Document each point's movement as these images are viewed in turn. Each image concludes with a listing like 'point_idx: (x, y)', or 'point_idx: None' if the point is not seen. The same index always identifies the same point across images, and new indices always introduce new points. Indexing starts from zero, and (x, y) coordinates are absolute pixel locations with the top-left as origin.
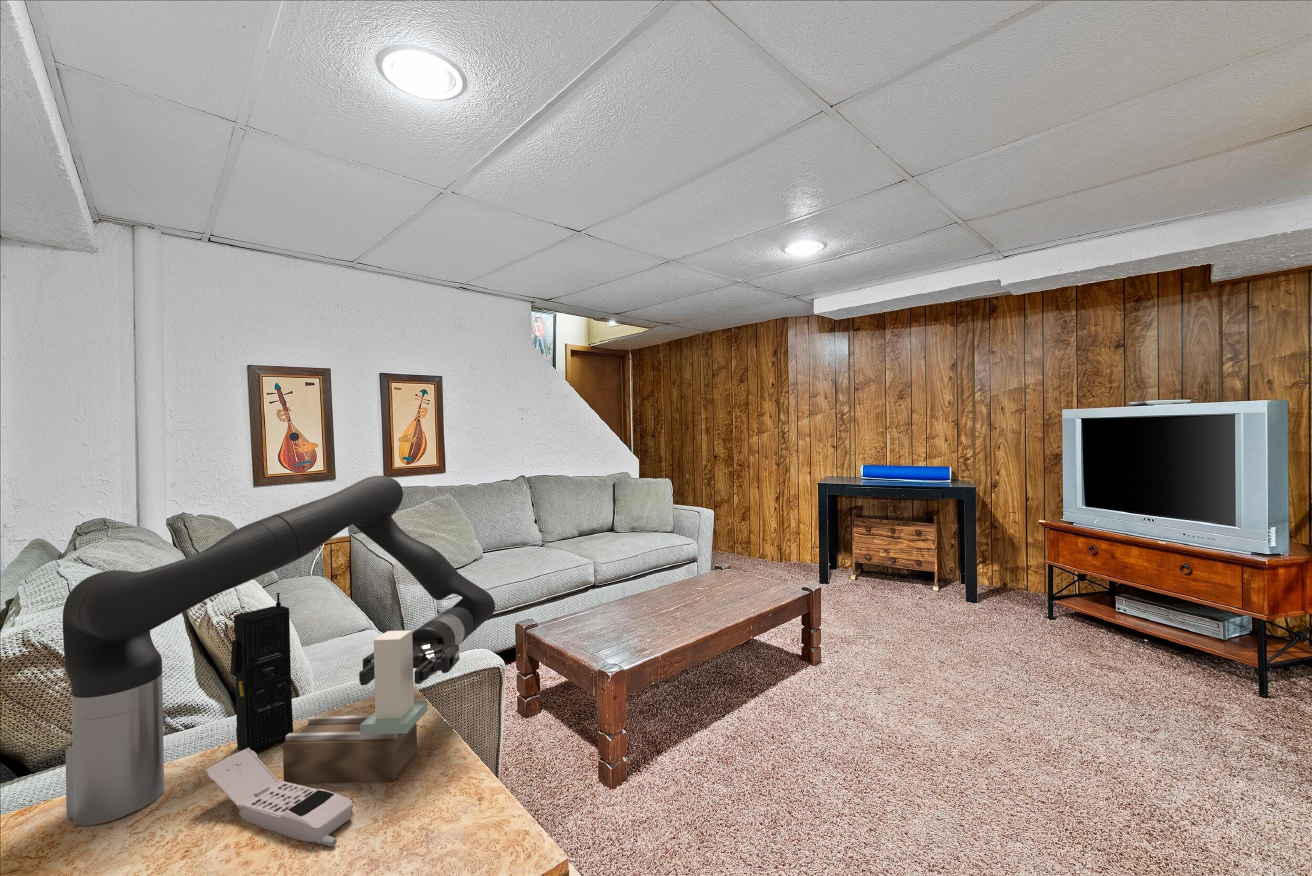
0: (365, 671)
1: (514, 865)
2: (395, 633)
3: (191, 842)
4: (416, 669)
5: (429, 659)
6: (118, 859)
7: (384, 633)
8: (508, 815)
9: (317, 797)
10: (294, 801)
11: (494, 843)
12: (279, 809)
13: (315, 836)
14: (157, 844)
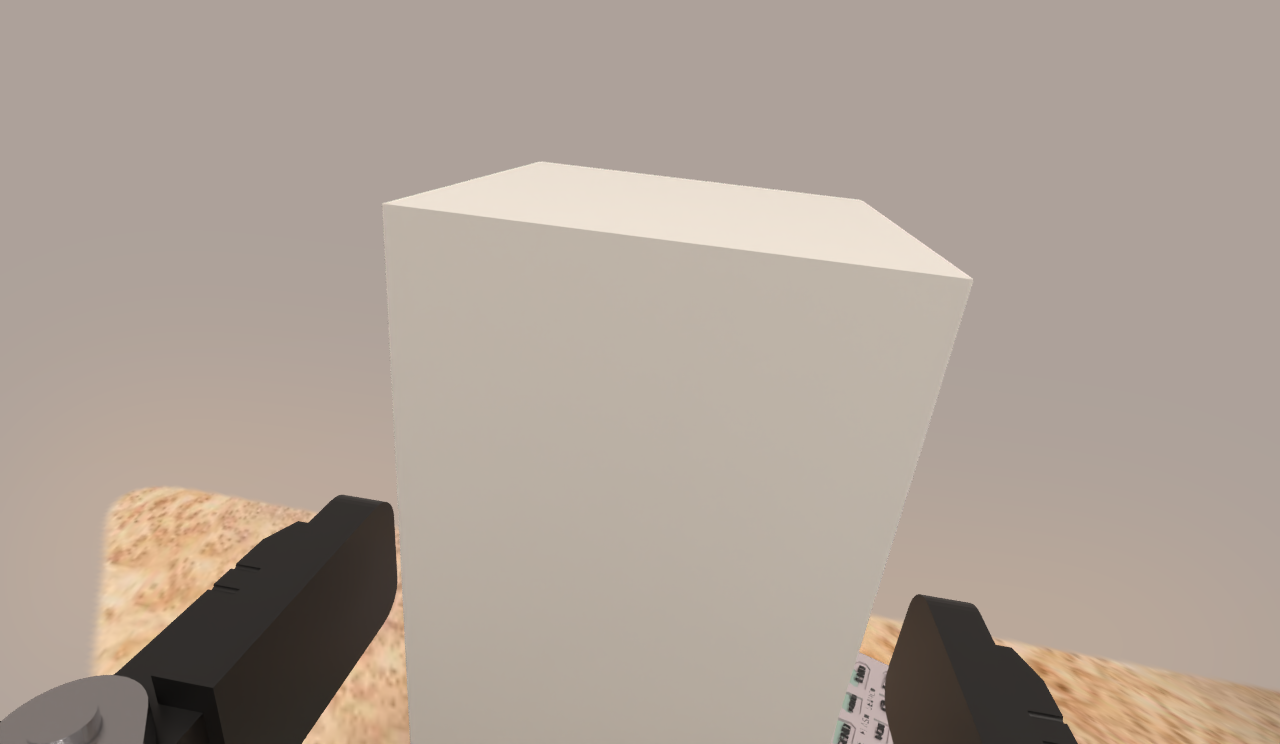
0: (921, 598)
1: (205, 492)
2: (687, 218)
3: (1098, 720)
4: (370, 506)
5: (137, 705)
6: (1227, 696)
7: (906, 242)
8: (124, 619)
9: None
10: (865, 709)
11: (219, 544)
12: (884, 683)
13: None
14: (1203, 734)
